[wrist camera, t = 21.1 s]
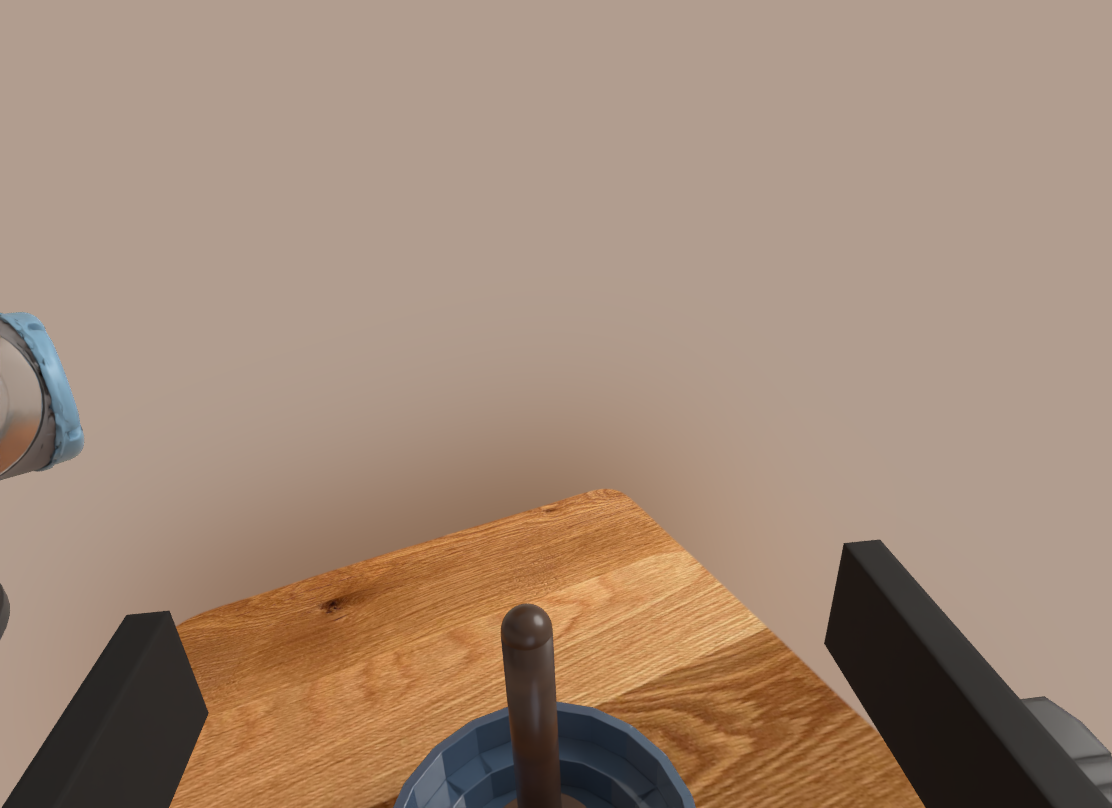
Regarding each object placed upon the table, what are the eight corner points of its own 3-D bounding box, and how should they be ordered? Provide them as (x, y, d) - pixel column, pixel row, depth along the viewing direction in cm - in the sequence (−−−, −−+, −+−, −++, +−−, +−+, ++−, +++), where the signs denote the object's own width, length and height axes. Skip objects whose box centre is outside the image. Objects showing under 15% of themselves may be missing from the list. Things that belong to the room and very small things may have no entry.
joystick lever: (469, 946, 31) (420, 660, 23) (505, 821, 37) (475, 552, 29) (595, 978, 30) (589, 686, 22) (614, 843, 35) (615, 568, 27)
